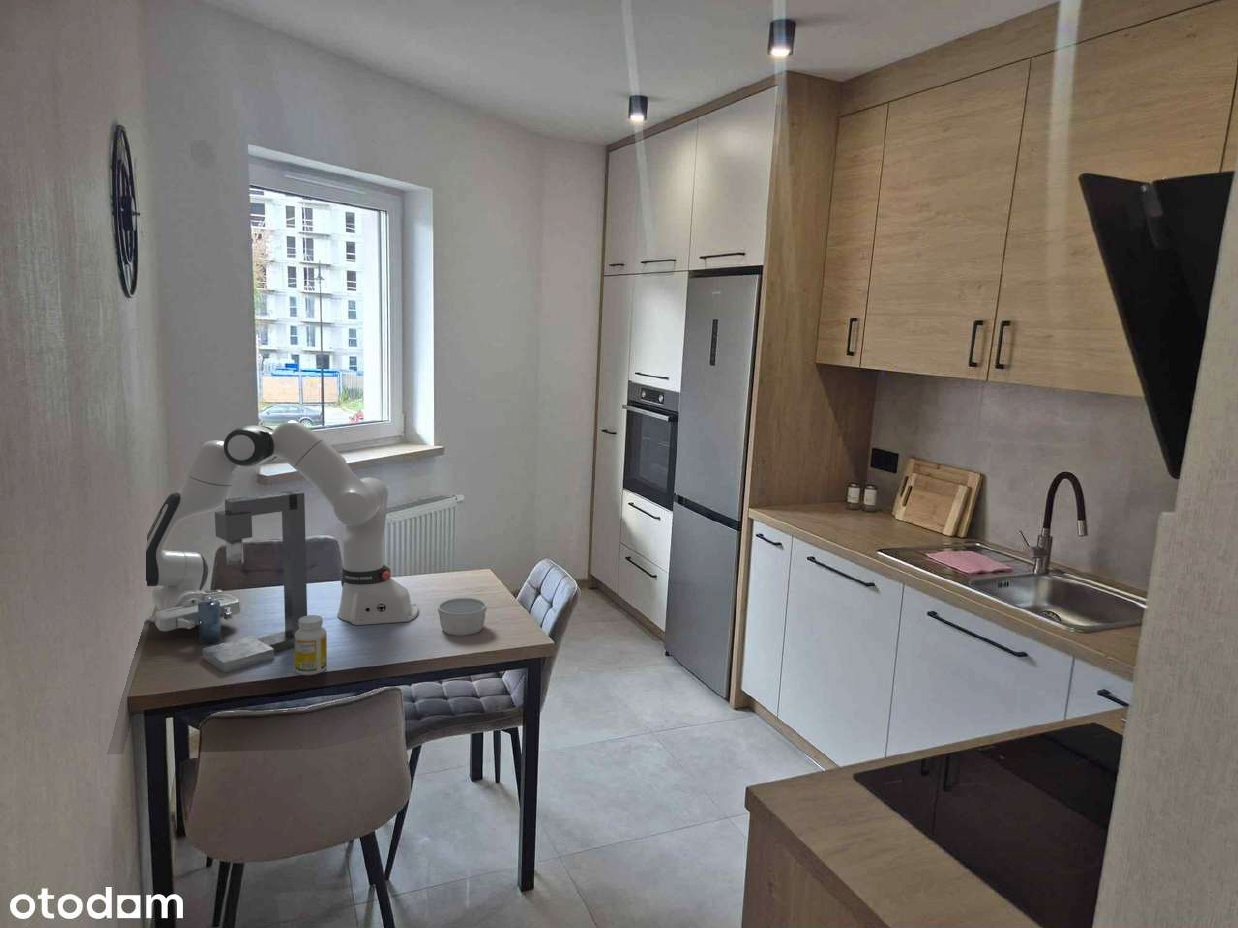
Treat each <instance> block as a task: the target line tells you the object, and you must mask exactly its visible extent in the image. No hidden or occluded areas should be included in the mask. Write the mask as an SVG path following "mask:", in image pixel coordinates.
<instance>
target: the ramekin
mask: <svg viewBox="0 0 1238 928" xmlns="http://www.w3.org/2000/svg"><path fill="white" fill-rule="evenodd" d="M437 612H438V613H439V622H440V627H441V629H442V631H444V633H445V634H447V635H451V636H456V637H457V636H458V637H459V636H460V637H462V636H463V637H465V636H471V635H476V634H477V633H479V632H480V631H481V630H483V627H484V626H485V617H486V612H487V604H486V602H485V601H483V600H481V599H478V598H473V597H457V598H456V597H455V598H451V599H450V598H449V599H446V600H444V601H442V602H441V603H439V604H438V606H437Z"/></svg>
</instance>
